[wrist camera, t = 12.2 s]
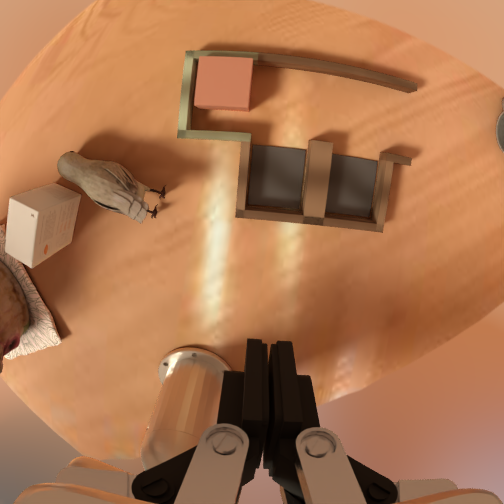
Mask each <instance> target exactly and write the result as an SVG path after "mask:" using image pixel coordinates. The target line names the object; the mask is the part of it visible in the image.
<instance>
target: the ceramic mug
mask: <svg viewBox="0 0 504 504" xmlns="http://www.w3.org/2000/svg"><path fill="white" fill-rule="evenodd" d="M502 107H503V112H502V113H501V114H500V116H499V118H498V120H497V125H496V138H497V142H498V145H499V147H500V149H501V150H502V152H503V153H504V98H503V100H502Z"/></svg>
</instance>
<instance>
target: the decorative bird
mask: <svg viewBox="0 0 504 504" xmlns="http://www.w3.org/2000/svg"><path fill="white" fill-rule="evenodd" d="M57 166H58V171H59V173H60V175H61V176H62V177H63V178H65V179H66V180H68V181H71V182H73V183H75V184H77V185H78V186H79V187H81V188H82V189H83V190H84V191H85V192H86V193H87V195H88V196H89V197H90V198H91V199H92V200H93V201H94V202H95V203H96V204H98V205H99V206H101V207H103V208H105V209H108V210H111V211H114V212H117V213H121V214H124V215H127V216H129V217H130V218H132V219H133V220H134V219H135V220H136V221H138V222H139V223H142V221H143V219H145V217H146V215H147V212H149V213H152V216H151V217H153V216H154V218H156V217H155V216H156V214H157V210H156V206H157V205H158V204H157V205H156V206H155V209H154V210H153V211H150V210H149V206H148V204H147V203H146V202H144V194H145V191H152V192H156V193H159V194H161V195H160V196H159V198H161V197H163V198H165V197H164V195H165V186H166V185H165V186H164V187H163V190H162V191H161V192H160V191H157V190H154V189H150V188H149V187H147V186H145V185H143V184H142V183H140V182H138V181H136V180H135V178H134V177H133V175H132V174H131V173H130V172H129V171H128V170H127V169H126V168H125V167H123V166H122V165H120V164H118V163H116V162H113V161H104V160H89V159H86V158H84V157H83V156H81V155H80V154H78V153H75V152H73V151H70V152H67V153H65V154H64V155H62V156H61V157H60V159H59V161H58V164H57Z"/></svg>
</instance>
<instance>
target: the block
mask: <svg viewBox="0 0 504 504" xmlns="http://www.w3.org/2000/svg"><path fill="white" fill-rule="evenodd" d="M252 76H253V58H242V57H218V56H199V63H198V71H197V80H196V89H195V99H194V106H196V107H198V108H199V109H213V110H232V111H247V112H249V107H250V96H251V86H252Z"/></svg>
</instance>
